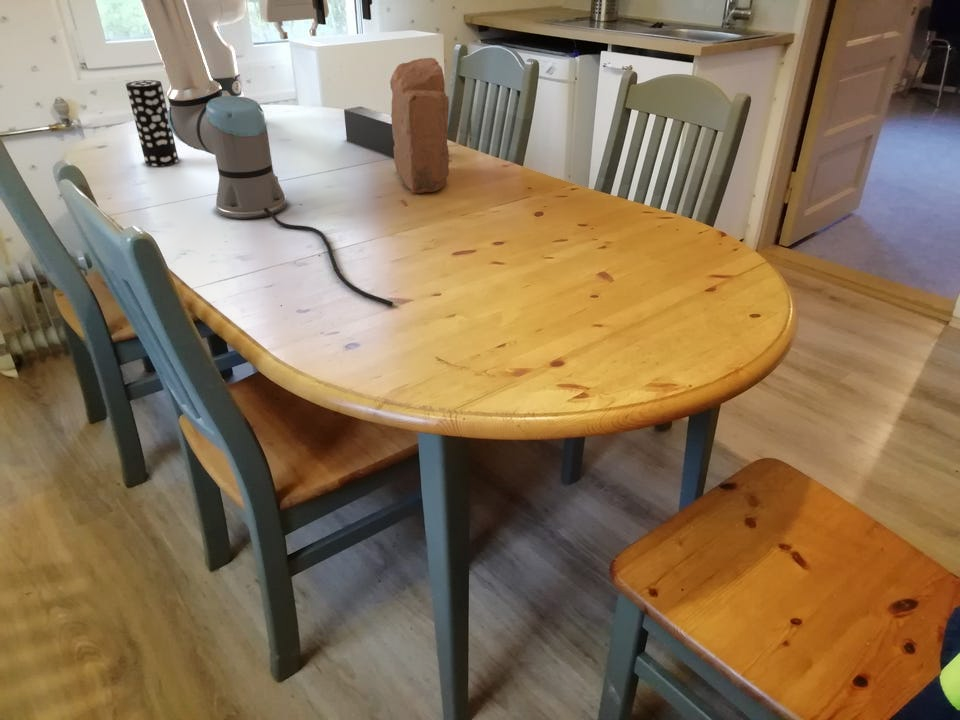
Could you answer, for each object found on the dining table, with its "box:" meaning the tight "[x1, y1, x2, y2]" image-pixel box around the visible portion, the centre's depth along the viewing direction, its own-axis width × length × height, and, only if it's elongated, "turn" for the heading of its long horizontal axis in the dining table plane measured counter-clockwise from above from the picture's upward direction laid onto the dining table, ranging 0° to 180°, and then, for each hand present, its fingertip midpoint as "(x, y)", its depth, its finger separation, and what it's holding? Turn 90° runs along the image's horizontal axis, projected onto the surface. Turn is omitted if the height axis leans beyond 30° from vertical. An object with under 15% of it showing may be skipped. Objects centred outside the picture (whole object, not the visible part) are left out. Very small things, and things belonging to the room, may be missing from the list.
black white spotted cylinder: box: [125, 79, 179, 167], centre depth 181 cm, size 8×8×20 cm
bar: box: [343, 106, 395, 159], centre depth 197 cm, size 27×6×9 cm, turn 44°
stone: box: [389, 57, 450, 194], centre depth 168 cm, size 22×11×28 cm, turn 18°
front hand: (344, 21), depth 175 cm, fingers open, 13 cm apart
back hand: (298, 37), depth 198 cm, fingers open, 8 cm apart
